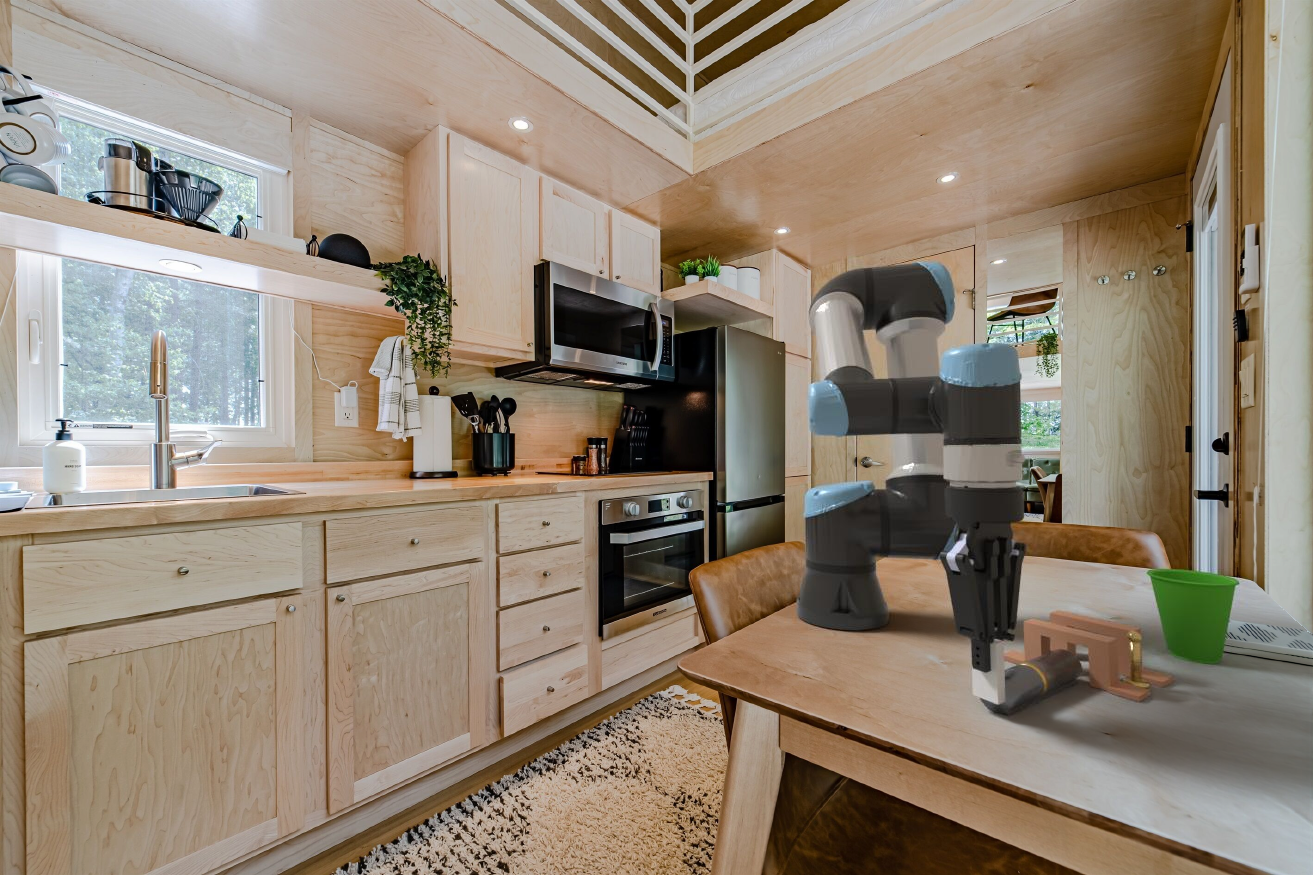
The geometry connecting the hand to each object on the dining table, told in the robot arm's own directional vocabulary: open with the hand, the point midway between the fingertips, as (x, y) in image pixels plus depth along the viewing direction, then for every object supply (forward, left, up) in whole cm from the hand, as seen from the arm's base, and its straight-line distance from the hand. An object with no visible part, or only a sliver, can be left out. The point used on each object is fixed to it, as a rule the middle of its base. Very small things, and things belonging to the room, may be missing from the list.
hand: (988, 697), depth 59 cm
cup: (+6, +39, -2) cm, 40 cm away
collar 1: (0, +18, -2) cm, 18 cm away
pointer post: (+6, +22, -2) cm, 22 cm away
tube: (0, +9, -2) cm, 9 cm away
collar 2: (0, +25, -2) cm, 25 cm away
